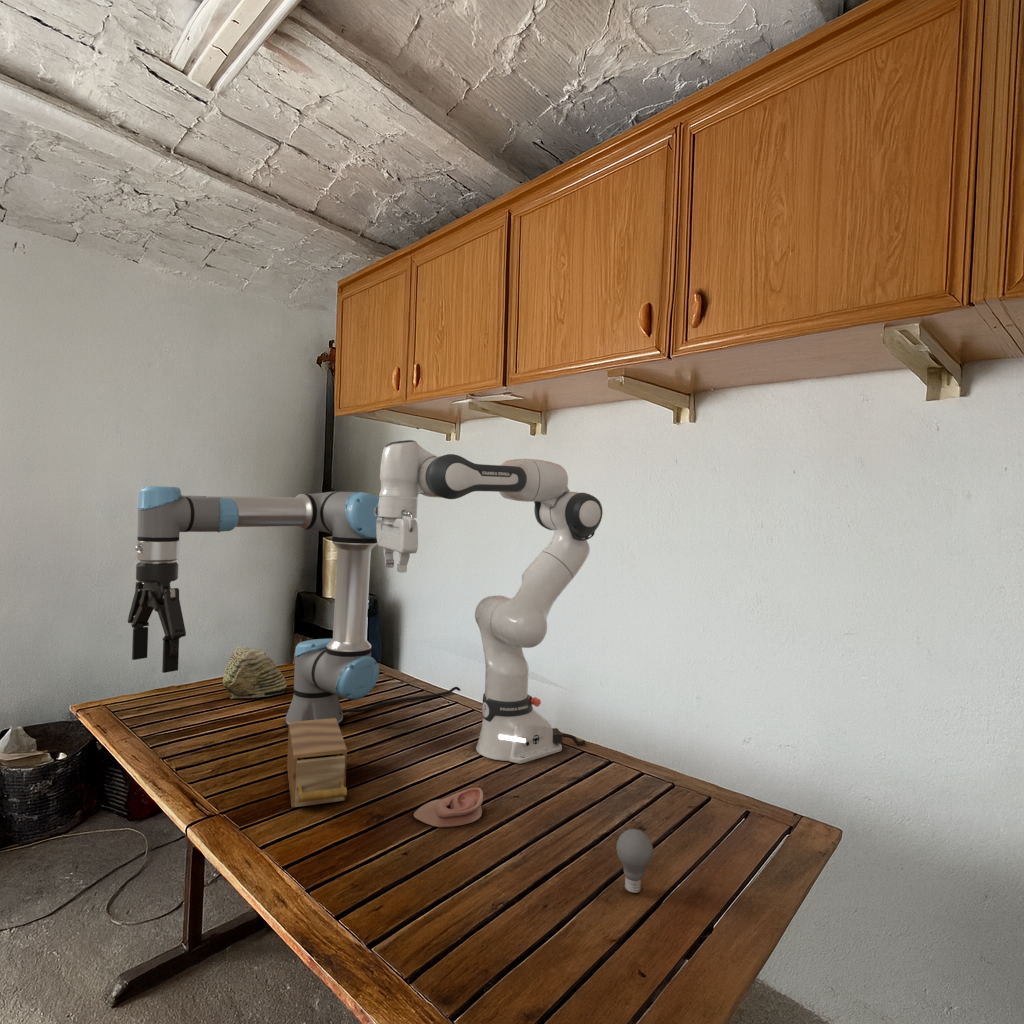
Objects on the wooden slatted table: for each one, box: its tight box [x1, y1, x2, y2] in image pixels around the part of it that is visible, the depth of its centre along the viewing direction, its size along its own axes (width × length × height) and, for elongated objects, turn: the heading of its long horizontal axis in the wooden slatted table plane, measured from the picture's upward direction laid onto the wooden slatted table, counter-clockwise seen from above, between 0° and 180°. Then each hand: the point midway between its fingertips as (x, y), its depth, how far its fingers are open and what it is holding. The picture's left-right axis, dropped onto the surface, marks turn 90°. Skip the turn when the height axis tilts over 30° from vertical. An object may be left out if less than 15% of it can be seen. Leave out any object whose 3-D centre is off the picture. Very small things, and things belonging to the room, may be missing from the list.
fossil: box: [222, 646, 288, 699], centre depth 198 cm, size 9×18×15 cm, turn 132°
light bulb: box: [615, 828, 654, 894], centre depth 106 cm, size 6×6×10 cm
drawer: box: [294, 754, 348, 808], centre depth 135 cm, size 24×9×9 cm, turn 22°
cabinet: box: [286, 718, 348, 808], centre depth 140 cm, size 20×11×11 cm, turn 22°
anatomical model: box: [413, 787, 484, 828], centre depth 129 cm, size 13×4×12 cm
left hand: (154, 664), depth 130 cm, fingers open, 13 cm apart
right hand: (395, 569), depth 147 cm, fingers open, 8 cm apart
